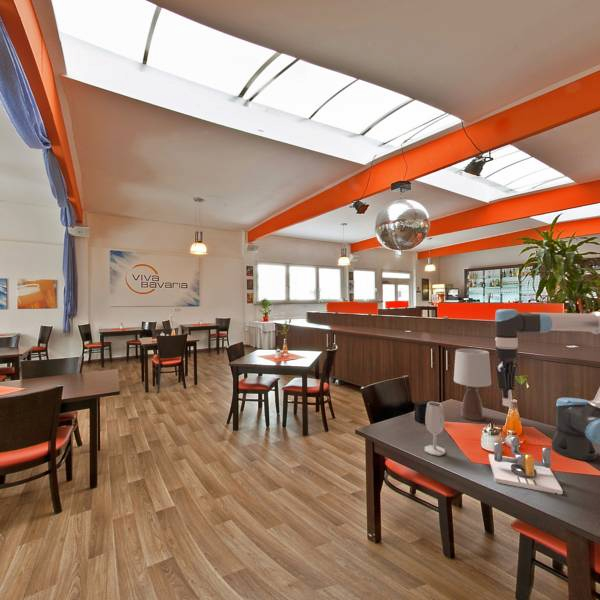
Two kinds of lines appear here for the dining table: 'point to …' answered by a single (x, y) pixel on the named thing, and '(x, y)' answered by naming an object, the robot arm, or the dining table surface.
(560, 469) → the dining table surface
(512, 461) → the silver metal piece
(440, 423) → the wineglass
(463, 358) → the lamp
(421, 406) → the electronic device
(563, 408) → the robot arm
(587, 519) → the dining table surface
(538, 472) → the stand plate
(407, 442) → the dining table surface
